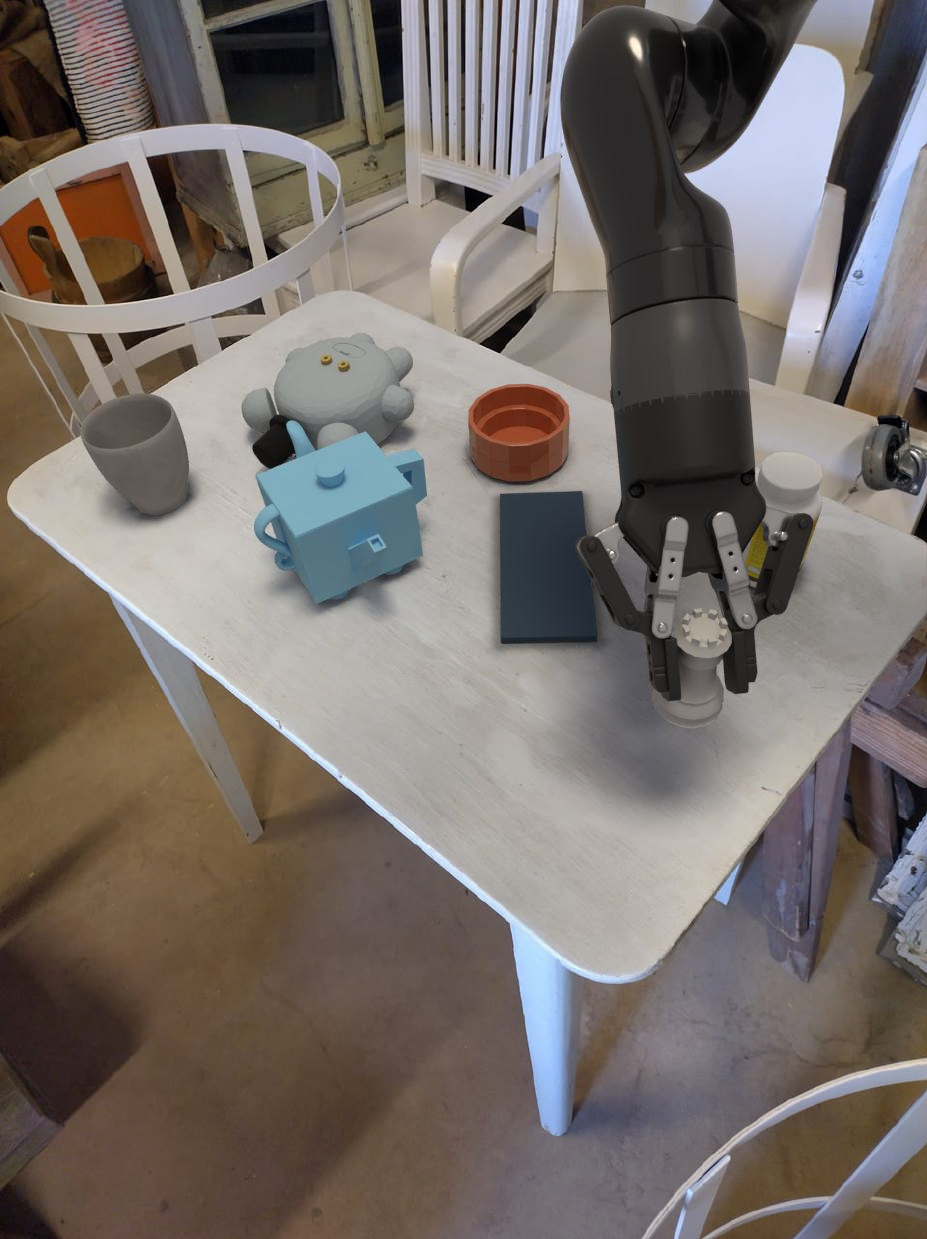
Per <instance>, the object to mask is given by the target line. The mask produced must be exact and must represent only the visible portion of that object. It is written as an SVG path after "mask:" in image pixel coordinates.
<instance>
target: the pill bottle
mask: <svg viewBox="0 0 927 1239" xmlns="http://www.w3.org/2000/svg"><path fill="white" fill-rule="evenodd" d="M823 476H824V472H823V469H822V467H821V465H820V464H819V463H818V461H816V460H815V459H814V458H812V457H810V456H808V455H806V454H803V453H800V452H796V451H779V452H775V453H771V454H770V455H768V456H766V457H765V458H764V460H762V462H761V465H760V468H759V472H758V476H755V480H756V484H757V487H758V489H759V491H760V493H761V494H762V496H763V497H764V499H765V502H766V506H768V507H771V508H775V509H778V510H781V511H785V512H788V513H806V514H809V515H810V516H811V517H812V519H813V528H812V531H811V534H810V537H809V541H808V544H807V547H806V550H805V553H804V556H803V559H802V562H801V565H800V569H799V572H798V574H800V571H801V569H802V566H803V563H804V561H805V558H806V554H807V552H808V550H809V547H810V543H811V541H812V538H813V536H814V532H815V530H816V527H817V524H818V521H819V518H820V516H821V512H822V508H823V497H822V493H821V491H820V487H821V483H822V480H823ZM767 549H768V546H767V545H766V544H765V543H764V541H763V528H762V526H761V525H759V527H758V529H757V530H756V532H755V534H754V535H753V537H752V539H751V540H750V542H749V544H748V545H747V547H746V549H745V550H744V552H743V554H742V555H743V558H744V562H745V565H746V569H747V572H748V576H749V579H750V586H749V587H752V588H755V587H756V584H757V581H758V578H759V575H760V571H761V568H762V565H763V562H764V559H765V556H766V553H767ZM734 569H735V568H733V570H734Z"/></svg>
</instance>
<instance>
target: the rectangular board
mask: <svg viewBox="0 0 927 1239" xmlns="http://www.w3.org/2000/svg"><path fill="white" fill-rule="evenodd" d="M585 514H586V513H585V505H584V495H583V491H582V490H571V491H570V490H569V491H568V490H567V491H537V492H509V493H500V494H499V522H500V523H499V529H500V530H499V534H500V535H499V538H500V539H499V540H500V550H499V551H500V552H499V553H500V639H501V640H500V641H501V642H500V643H501V644H526V643H527V644H529V643H532V644H533V643H536V644H537V643H574V642H575V643H579V642H583V643H584V642H597V640H598V632H597V630H598V629H597V622H596V611H595V603H594V593H593V582H592V580H591V578H590V577H589V575H588V573H587V571H586V569H585V567H584V565H583V563H582V561H581V559H580V558H579V556H578V554H577V552H576V550H575V543H576V541H577V540H578V539H579V538H580V537H583V536H588V535H587V524H586V515H585Z"/></svg>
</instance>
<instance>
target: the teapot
mask: <svg viewBox="0 0 927 1239" xmlns="http://www.w3.org/2000/svg"><path fill="white" fill-rule="evenodd" d="M287 430H288V433H289V435H290V437H291V439H292V442H293V445H294V448H295V453H296V454H295V457H296V458H295V459H292V460H289V461H287V462H284V463H283V464H282V465H279V466H277V467H274V468H272V469H267V470H265V471H262V472H260V473H258V474H256V475H255V479H256V482H257V486H258V488H259V491H260V494H261V497H262V500H263V503H264V506H265V507H264V508H263V509H262V510H260V512H259V513H258V514H257V516H256V518H255V519H254V523H253V531H254V534H255V536H256V538H257V539H258V541H259V542H260V543H262V545H264V546H265V547H267V548H268V549H271V550H273V551H275V554H274V559H273V560H274V564H275V566H276V567H277V568H279V570H281V571H291V570H294V571H295V573H296V574H297V576H298V578H299V579H300V581H301V582H302V584H303V586H304V587H305V589H306V590H307V592H308V594H309V596H310V597H311V599H312V600H313V602H314V603H315V605H318V604H320V603H322V602H325V601H327V600H329V599H330V600H341V599H343V598H346V596H347V595H349V593H350V591H351V589H353V588H355V587H357V586H360V585H362V584H364V583H366V582H368V581H371V580H373V579H376V578H377V577H380V576H383V575H390V576H391V575H396V574H398V573H400V572H401V571H402V570H403V569H404V565H406V564H408V563H411V562H412V561H415V560H417V559H419V558H421V557H423V556H424V550H423V542H422V538H421V530H420V524H419V523H420V522H419V516H418V510H417V505H418V504H419V503H420V502H422V500H424V499H425V498H426V497H427V496H428V491H427V479H426V467H425V458H423V456H422V455H421V454H420V453H419V452H418V450H416V448H412V449H408V450H404V451H399V452H395V453H391V454H387V455H386V453H385V452H384V451H383V450H382V449H381V447H380V446H379V444H376V443H375V442H374V441H373V439H372V438H371V437H370V436H369V435H368V433H367V432H363V433H360V434H358V435H355V436H352V437H350V438H347V439H345V440H342V441H340V442H337V443H334V444H332V445H329V446H327V447H324V448H322V449H319V450H317V451H315V449H314V447H313V446H312V444H311V442H310V441H309V439H308V437H307V435H306V433H305V432H304V430H303V428H302V427H301V426H300V424H298V423H297V422H295V421H288V422H287ZM269 525H271V527H272V530H273V533H274V535H275V537H274V536H271V535H269V534H268V533H267V532H266V529H267V527H268V526H269Z"/></svg>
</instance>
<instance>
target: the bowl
mask: <svg viewBox="0 0 927 1239" xmlns="http://www.w3.org/2000/svg"><path fill="white" fill-rule="evenodd" d="M467 415H468V416H467V424H468V425H467V426H468V439H469V452H470V458H471V460H472V462H473V463H474V465H475V466H476V467H477V469H478V470H480V471H481V472H483V473H484V474H486V475H487V476H489V477H490V478H493V479H498V480H502V481H506V482H510V483H511V482H531V481H534V480H537V479H540V478H545V477H547V476H549V475H551V474H552V473H553V472H555V471H556V470H558V469H559V468H560V467H562V466H563V464H564V463H565V460H566V458H567V456H568V455H569V443H570V442H569V441H570V420H571V416H570V415H571V414H570V407H569V404H568V403H567V402H566V400H564V398H563V397H562V396H561V394H559V393H557V392H555V391H553V390H552V389H550V388H548V387H546V386H542V385H537V384H531V383H510V384H509V383H508V384H505V385H501V386H498V387H494V388H491V389H489V390H487V391H486V392H484V393H483V394H480V395H479V396H478V397H476V398H475V400H474V401H473V402H472V404H471V406H470V407H469V408H468V413H467Z"/></svg>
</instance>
